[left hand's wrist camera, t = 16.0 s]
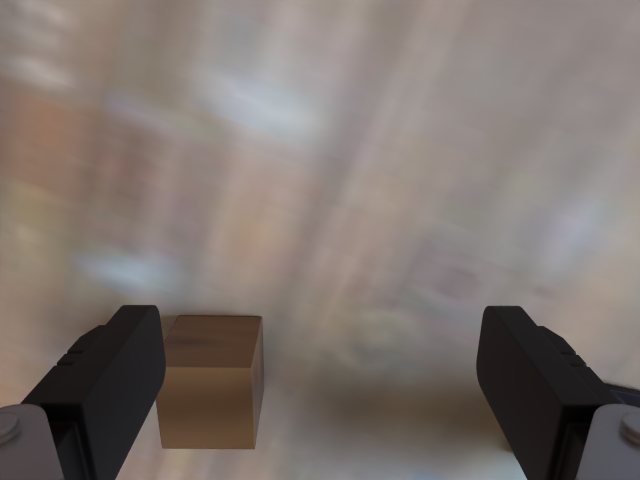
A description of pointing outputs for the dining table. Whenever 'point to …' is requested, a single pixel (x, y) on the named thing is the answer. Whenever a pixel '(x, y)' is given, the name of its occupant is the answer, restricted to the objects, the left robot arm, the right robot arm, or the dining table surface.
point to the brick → (212, 383)
